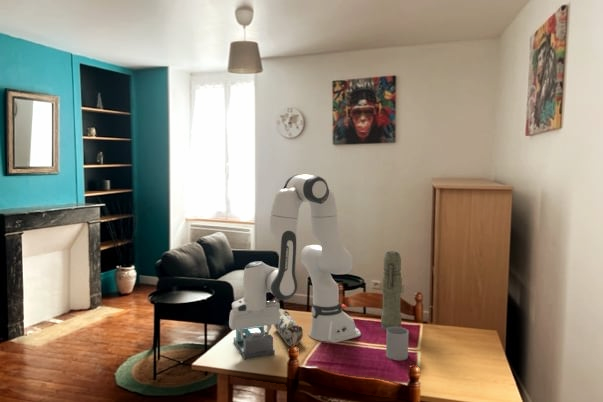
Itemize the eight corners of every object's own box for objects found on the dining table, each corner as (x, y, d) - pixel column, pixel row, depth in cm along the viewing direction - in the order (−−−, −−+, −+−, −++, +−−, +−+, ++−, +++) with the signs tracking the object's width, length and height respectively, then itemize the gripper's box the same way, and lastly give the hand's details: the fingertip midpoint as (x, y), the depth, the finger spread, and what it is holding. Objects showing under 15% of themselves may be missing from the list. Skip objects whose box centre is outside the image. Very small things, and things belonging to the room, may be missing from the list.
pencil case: (304, 345, 180) (304, 322, 179) (284, 348, 178) (284, 324, 177) (289, 327, 201) (289, 306, 200) (271, 329, 198) (271, 307, 198)
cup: (395, 362, 165) (395, 336, 164) (381, 353, 172) (382, 328, 171) (412, 357, 169) (413, 332, 168) (398, 349, 176) (399, 325, 175)
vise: (261, 338, 187) (261, 322, 187) (274, 355, 171) (274, 337, 170) (233, 342, 183) (233, 326, 182) (244, 360, 166) (244, 342, 166)
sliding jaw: (261, 335, 184) (261, 323, 184) (263, 337, 182) (263, 326, 181) (236, 339, 180) (236, 327, 180) (237, 341, 178) (237, 329, 177)
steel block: (257, 342, 178) (257, 327, 178) (262, 347, 172) (262, 333, 172) (248, 343, 176) (248, 329, 176) (252, 349, 171) (252, 334, 170)
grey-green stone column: (401, 324, 204) (402, 250, 201) (401, 334, 192) (402, 255, 189) (381, 323, 206) (383, 249, 203) (380, 332, 194) (381, 254, 191)
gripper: (277, 297, 180) (277, 330, 181) (227, 303, 172) (228, 337, 173) (282, 302, 174) (282, 336, 175) (231, 308, 166) (231, 343, 167)
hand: (255, 337), depth 174 cm, fingers open, 8 cm apart
